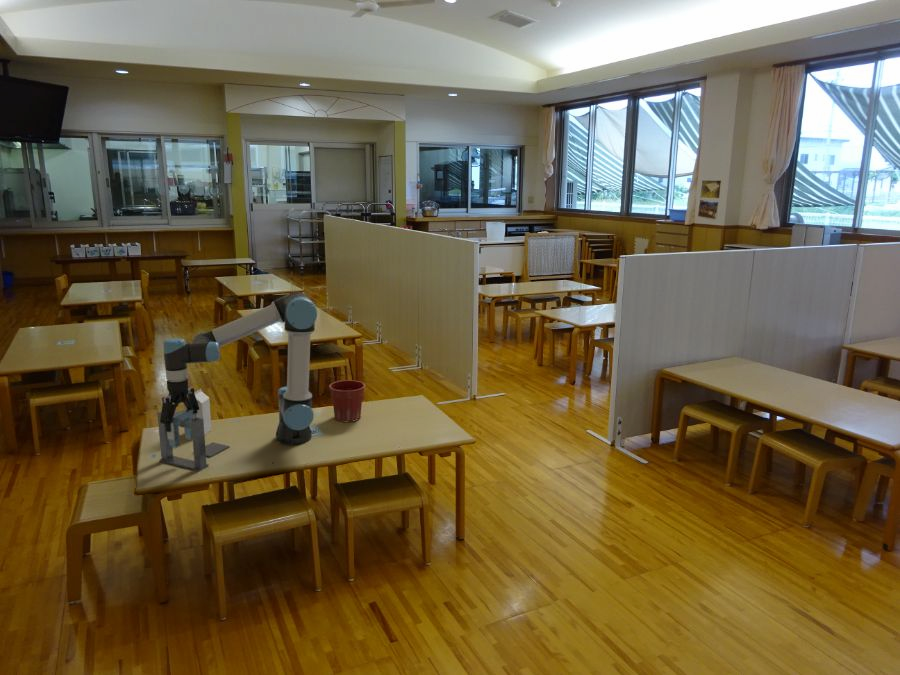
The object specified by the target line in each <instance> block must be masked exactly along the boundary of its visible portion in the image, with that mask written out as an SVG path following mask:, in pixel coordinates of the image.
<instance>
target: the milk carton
mask: <svg viewBox="0 0 900 675" xmlns="http://www.w3.org/2000/svg"><path fill="white" fill-rule="evenodd" d="M194 394H195V397H196V400H197V402H198V405H199V410H197V411H198V413H197V414H196V413H195V414H196V418H202V419H203V421H204V435H207V434H209V432H210V431H212V420H211V419H212V418H211V417H212V416H211V403H210V396H208V395H207V394H205V393H204V392H203V391H202V388H199V389H198V390H197V391H194ZM189 401H190V400H189Z"/></svg>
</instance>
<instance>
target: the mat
mask: <svg viewBox="0 0 900 675" xmlns="http://www.w3.org/2000/svg"><path fill="white" fill-rule="evenodd" d="M230 448H231V446H230V445H226V444H222V443H218V442H211V443H209V444H205V449H206V458H212V457H214V456H216V455H218V454H220V453H222V452H224V451H226V450H228V449H230ZM192 454H194V451H193V452H192Z"/></svg>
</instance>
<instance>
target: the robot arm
mask: <svg viewBox="0 0 900 675" xmlns="http://www.w3.org/2000/svg"><path fill="white" fill-rule="evenodd" d="M317 318H318V309H317V306H316V305H315V302H313V301H312V299H310V297H309V296H308V295H306V293H303V292H298V291H297V292H291V293H288V294H286V295H284V296H281V297H279V298H278V299H275V300H273V301H272V302H271V303H270V305H268V306H266V307H263V308H261V309H259V310H256V311H253V312H251V313H248V314H246V315H245V316H242V317H239V318H237V319H236V320H232V321H230V322H228V323H225V324H223V325H221V326H219V327H216V328H214V329H212V330H209V331H206V332H199V333H197V334H196V335H195V336H194V339H193V340H192V343H191V342H190V343H186V341H185V339H184V338H182V337H173V338H172V337H171V338H168V339H165V341H164V342H163V359H164V367H165V368H164V369H165V378H166V390H167V392H168V396H163V397H161V401H162V404H161V406H162V407H161V411H162V412H161V411H160V412H161V419H160V423H162V424H165V427H166V432H167V436H168V439H171V440H174V439H175V437H174V426H173V423H171V422H172V419H173V416H174V413H176V409H177V407H179V404H181V403H183V404H184V406H185V409H186V408H187V409H193V416H194V419H195V418H196V414H197V413H198V411H197V410H199V405H198V402H197V400H196V397H195V394H194V393H195V388H194V387H190V386H189V385H190V384H189V379H188V377H189V375H188V366H187V365H188V364H196V363H197V364H199V363H200V364H202V363H212V362H218V361H220V357H221V355H220V354H221V353H220V348H222V347H223V346H226V345H228V344H230V343H233V342H235V341H238V340H240V339H243V338H245V337H247V336H249V335H252V334H254V333H256V332H258V331H261V330H263V329H265V328H268V327H270V326H272V325H274V324H277V323H281V324H283V323H284V331H285V332H286V333H287V335H288V336H287V337H288V339H287V369H286V372H287V373H286V374H287V376H286V378H287V379H286V386H282V387H280V388H279V389H278V392H277V397H278V424H277V429H276V432H275V441H276V442H278V443H280V444H283V445H298V444H299V445H300V444H303V443H306V442H309V441H310V440H311V439H312V438H313V436H312V433H313V432H312V430H311V427H310V425H312V422H313V421H314V411H313V394H312V392H310V390H309V389H310V388H309V387H310V366H311V363H310V360H311V359H310V358H311V335H312V334H313V333H314V332H315V328H316V327H315V326H316V325H315V324H316V321H317ZM189 400H190V401H189ZM195 413H196V414H195ZM168 420H169V421H168Z"/></svg>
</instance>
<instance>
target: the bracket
mask: <svg viewBox="0 0 900 675" xmlns="http://www.w3.org/2000/svg"><path fill="white" fill-rule="evenodd" d="M193 419H194V416H193V409H187V408H186V407H185V408H184V409H181V410H179V411H177V412H176V411H175V413H174V416H173V419H172V422H171V423H173V426H174V437H175V439H174V440H171V439H169V443H170V446H172V448H178V447H179V446H181V440H180V428H179V426H178V422H179V421H182V420H186V421H190V422H191V420H193ZM168 421H169V420H168ZM183 429H184V430H183V431H184V439H186V440H189V441H193V436H192V429H188V428H184V427H183Z"/></svg>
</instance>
